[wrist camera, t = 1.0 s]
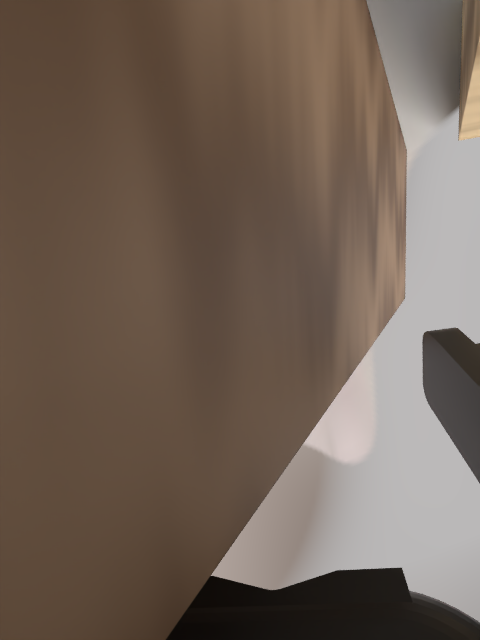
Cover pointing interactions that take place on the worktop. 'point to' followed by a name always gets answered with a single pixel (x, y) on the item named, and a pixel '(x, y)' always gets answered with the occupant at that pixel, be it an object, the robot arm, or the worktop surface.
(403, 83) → the worktop surface
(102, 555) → the brown wooden block
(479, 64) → the step
